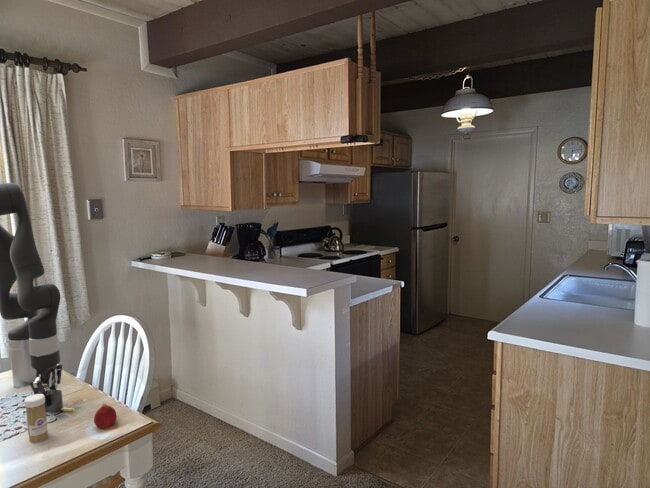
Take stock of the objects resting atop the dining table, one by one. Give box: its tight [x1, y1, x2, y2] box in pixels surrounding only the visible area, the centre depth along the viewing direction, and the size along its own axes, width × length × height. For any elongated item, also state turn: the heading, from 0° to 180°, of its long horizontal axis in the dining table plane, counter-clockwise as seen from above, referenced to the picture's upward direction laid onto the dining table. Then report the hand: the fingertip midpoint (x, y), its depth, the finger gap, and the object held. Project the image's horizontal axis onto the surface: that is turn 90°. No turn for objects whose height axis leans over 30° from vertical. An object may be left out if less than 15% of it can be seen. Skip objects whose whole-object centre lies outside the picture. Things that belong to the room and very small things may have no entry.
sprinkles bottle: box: [24, 393, 49, 444], centre depth 117 cm, size 5×5×13 cm
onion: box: [93, 402, 118, 430], centre depth 124 cm, size 6×6×8 cm
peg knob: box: [44, 388, 76, 413], centre depth 132 cm, size 13×2×6 cm, turn 79°
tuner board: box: [54, 398, 85, 420], centre depth 133 cm, size 16×15×2 cm
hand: (49, 403), depth 133 cm, fingers closed on peg knob, 3 cm apart
